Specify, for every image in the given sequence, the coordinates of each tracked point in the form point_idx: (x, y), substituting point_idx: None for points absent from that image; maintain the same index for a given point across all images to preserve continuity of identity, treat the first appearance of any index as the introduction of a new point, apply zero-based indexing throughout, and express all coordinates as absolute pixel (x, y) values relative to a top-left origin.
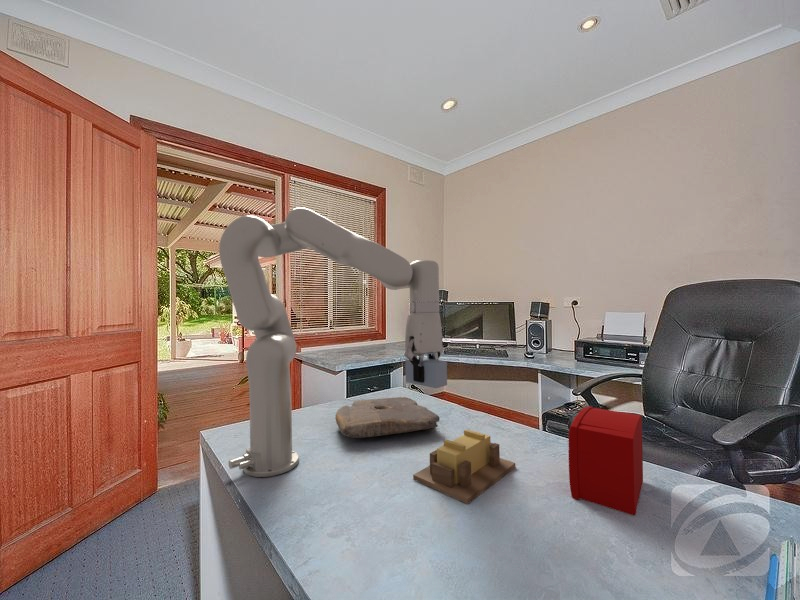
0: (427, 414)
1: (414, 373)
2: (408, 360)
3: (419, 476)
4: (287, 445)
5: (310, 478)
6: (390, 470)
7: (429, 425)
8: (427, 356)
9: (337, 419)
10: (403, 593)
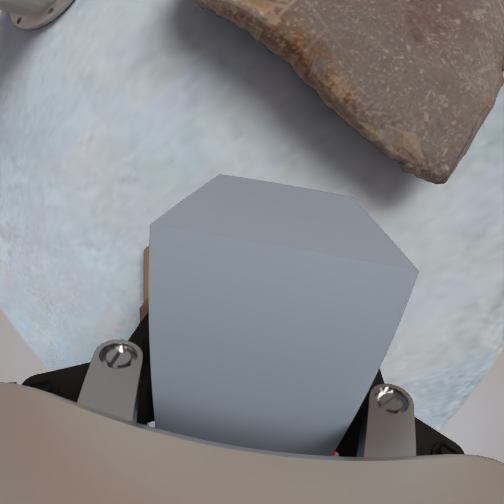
0: (437, 139)
1: (144, 323)
2: (153, 276)
3: (147, 264)
4: (22, 2)
5: (44, 76)
6: (147, 180)
7: (397, 161)
8: (365, 433)
9: None
10: (20, 334)
